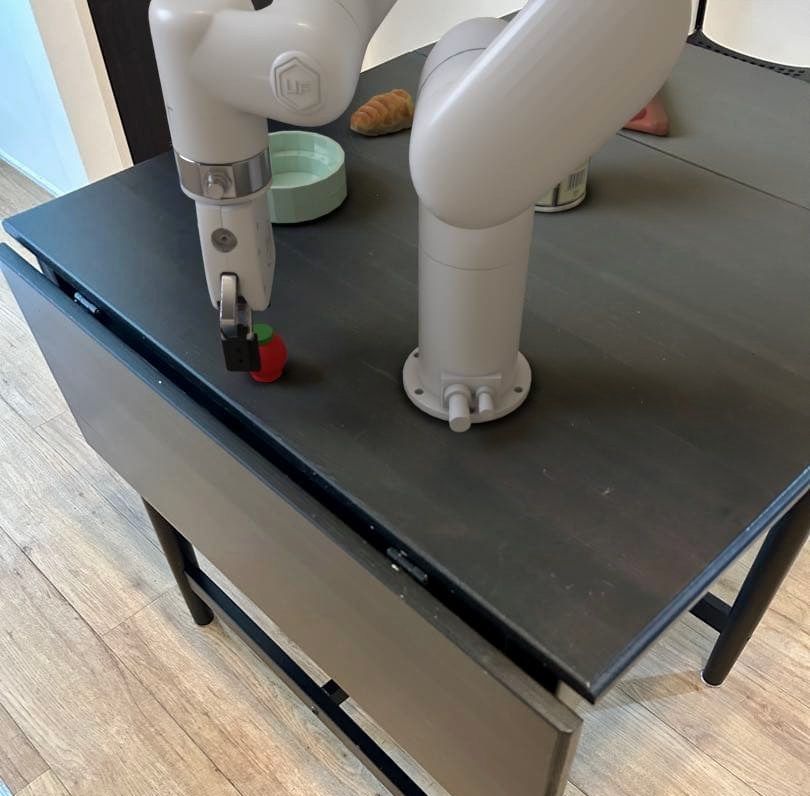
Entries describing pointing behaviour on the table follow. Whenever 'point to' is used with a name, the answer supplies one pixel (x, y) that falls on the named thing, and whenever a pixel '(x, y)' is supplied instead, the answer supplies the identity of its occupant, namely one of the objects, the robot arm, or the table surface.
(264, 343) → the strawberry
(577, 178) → the coffee can
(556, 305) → the table surface
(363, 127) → the pastry
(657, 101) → the pizza slice
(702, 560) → the table surface
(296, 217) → the bowl
